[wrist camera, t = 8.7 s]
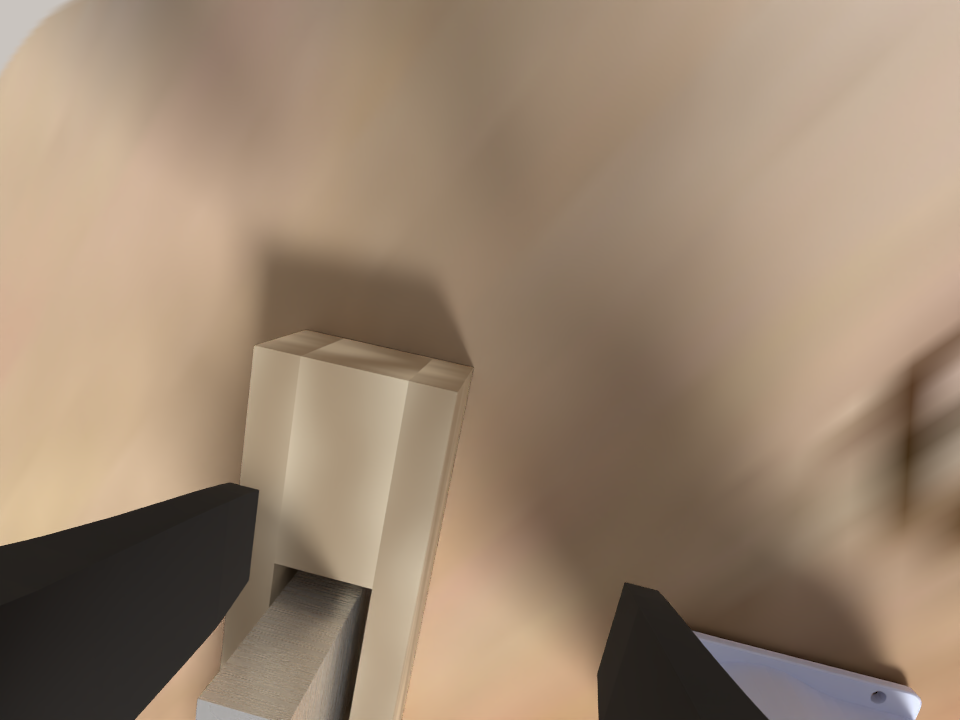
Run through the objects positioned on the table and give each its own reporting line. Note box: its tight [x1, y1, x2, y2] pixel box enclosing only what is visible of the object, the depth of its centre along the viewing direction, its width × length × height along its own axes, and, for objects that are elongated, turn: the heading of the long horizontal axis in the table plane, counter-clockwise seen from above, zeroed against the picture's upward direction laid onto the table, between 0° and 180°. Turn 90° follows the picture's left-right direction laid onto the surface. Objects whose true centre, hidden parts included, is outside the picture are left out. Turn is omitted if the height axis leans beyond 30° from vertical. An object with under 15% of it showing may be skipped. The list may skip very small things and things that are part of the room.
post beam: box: [220, 330, 474, 720], centre depth 19 cm, size 6×22×4 cm, turn 169°
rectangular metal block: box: [196, 570, 372, 720], centre depth 17 cm, size 2×6×8 cm, turn 169°
